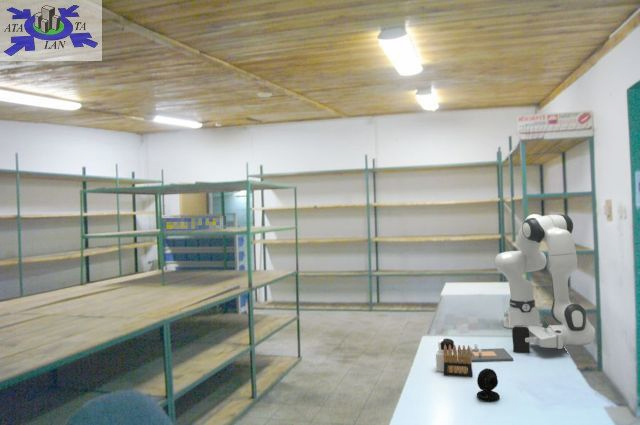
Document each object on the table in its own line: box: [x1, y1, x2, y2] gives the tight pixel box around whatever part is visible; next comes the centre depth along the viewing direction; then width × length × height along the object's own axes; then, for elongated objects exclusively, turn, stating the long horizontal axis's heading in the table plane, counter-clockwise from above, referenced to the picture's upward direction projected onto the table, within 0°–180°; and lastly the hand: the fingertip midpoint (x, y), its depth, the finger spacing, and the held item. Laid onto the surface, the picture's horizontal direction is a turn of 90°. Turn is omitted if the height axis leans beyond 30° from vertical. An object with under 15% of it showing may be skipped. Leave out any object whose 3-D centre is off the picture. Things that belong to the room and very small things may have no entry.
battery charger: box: [511, 325, 531, 354], centre depth 219 cm, size 7×4×11 cm, turn 67°
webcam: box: [476, 368, 500, 403], centre depth 172 cm, size 8×8×10 cm
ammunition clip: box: [443, 344, 474, 378], centre depth 195 cm, size 11×2×12 cm, turn 70°
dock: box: [456, 343, 514, 363], centre depth 215 cm, size 14×20×4 cm
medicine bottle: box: [435, 338, 458, 373], centre depth 202 cm, size 7×7×12 cm
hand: (521, 336), depth 219 cm, fingers open, 8 cm apart
